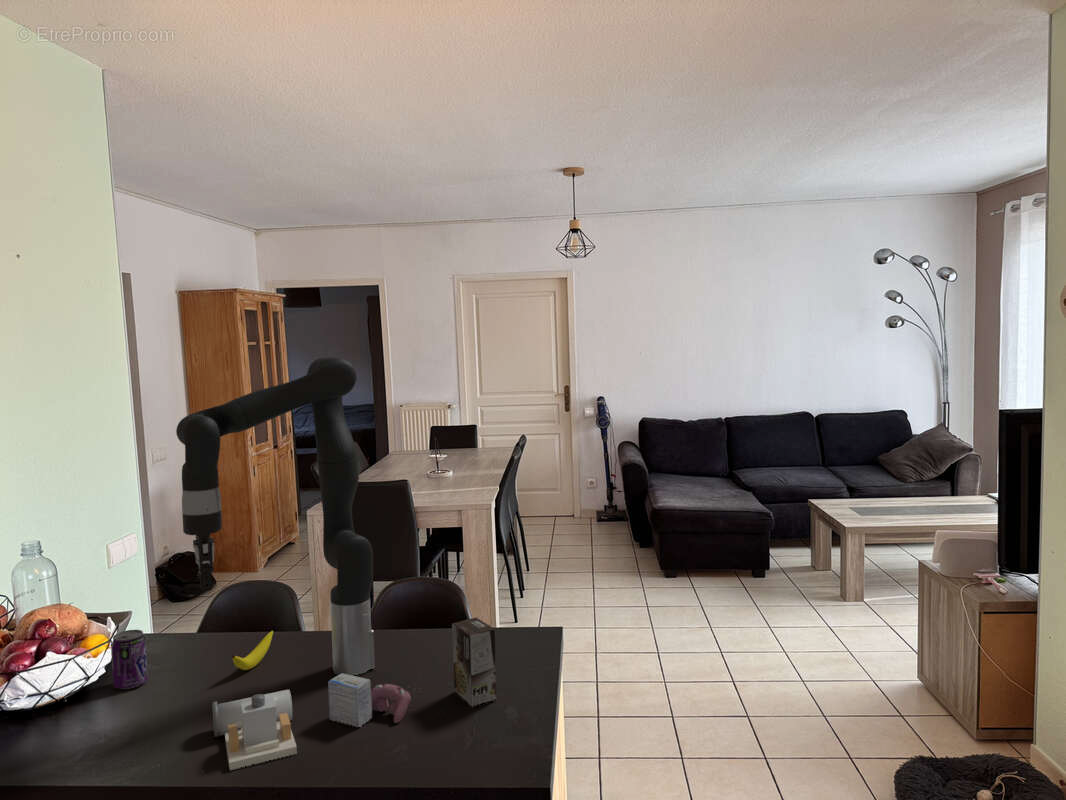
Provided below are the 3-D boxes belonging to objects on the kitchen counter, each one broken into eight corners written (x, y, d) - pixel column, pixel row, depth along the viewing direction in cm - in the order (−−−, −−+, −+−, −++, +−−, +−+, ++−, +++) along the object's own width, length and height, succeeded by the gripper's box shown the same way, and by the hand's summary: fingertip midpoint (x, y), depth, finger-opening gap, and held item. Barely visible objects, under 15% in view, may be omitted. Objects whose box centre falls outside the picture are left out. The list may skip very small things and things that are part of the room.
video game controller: (408, 724, 157) (416, 689, 159) (396, 724, 153) (404, 688, 155) (371, 715, 161) (379, 681, 164) (358, 714, 158) (366, 679, 160)
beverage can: (133, 692, 170) (130, 641, 169) (106, 690, 171) (103, 639, 170) (154, 679, 177) (152, 629, 176) (128, 676, 178) (125, 627, 177)
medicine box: (372, 719, 156) (371, 679, 156) (358, 729, 152) (357, 688, 152) (343, 711, 160) (341, 672, 159) (328, 721, 156) (327, 680, 155)
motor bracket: (288, 711, 160) (287, 681, 160) (302, 752, 144) (301, 719, 143) (213, 727, 154) (212, 696, 153) (219, 773, 137) (217, 738, 137)
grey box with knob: (274, 730, 149) (272, 688, 149) (277, 741, 145) (275, 698, 145) (242, 737, 147) (240, 695, 146) (244, 748, 143) (242, 705, 142)
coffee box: (497, 700, 163) (496, 628, 162) (471, 708, 160) (469, 635, 159) (478, 684, 171) (476, 616, 170) (452, 692, 168) (451, 622, 167)
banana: (278, 649, 193) (277, 625, 193) (239, 682, 175) (238, 655, 174) (268, 648, 194) (267, 625, 193) (228, 681, 175) (226, 655, 174)
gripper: (224, 514, 153) (227, 591, 154) (218, 501, 165) (221, 573, 166) (183, 518, 149) (187, 597, 150) (181, 505, 162) (184, 578, 163)
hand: (205, 584), depth 158 cm, fingers open, 8 cm apart
